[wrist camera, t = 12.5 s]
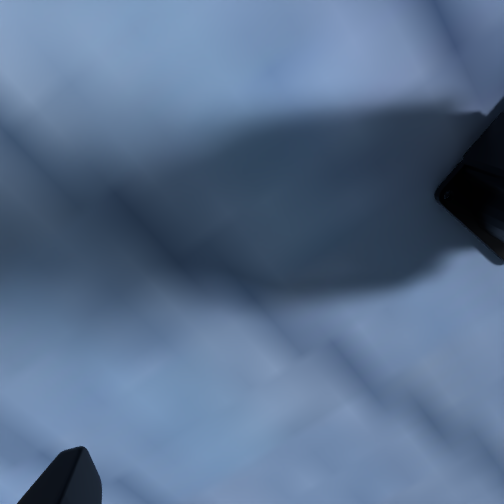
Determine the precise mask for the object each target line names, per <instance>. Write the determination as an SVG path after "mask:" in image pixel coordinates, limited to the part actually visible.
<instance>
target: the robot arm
mask: <svg viewBox="0 0 504 504" xmlns="http://www.w3.org/2000/svg"><path fill="white" fill-rule="evenodd" d="M447 191H450V195H449V196H448V197H447V198H446V199H444V195H445V193H446V192H447ZM435 199H436V201H437V202H438V203H439V204H440V205H441V206H442V207H443V208H445V209H446V210H447V211H448V212H449V213H450V214H451V215H452V216H453V217H455V218H456V219H457V220H458V221H459V222H460V223H461V224H462V225H463V226H465V227H466V228H467V229H468V230H469V231H470V232H471V233H472V234H474V235H475V236H476V237H477V238H478V239H479V240H480V241H481V242H482V243H484V244H485V245H486V246H487V247H488V248H489V249H490V250H491V251H492V252H494V253H495V254H496V255H497V256H498V257H499V258H500V259H501V260H503V261H504V112H502V113H501V114H500V115H499V116H498V117H497V118H496V120H495V121H494V122H493V123H492V124H491V125H490V126H489V127H488V129H487V130H486V131H485V132H484V133H483V134H482V135H481V136H480V138H479V139H478V140H477V141H476V142H475V143H474V144H473V145H472V147H471V148H470V149H469V150H468V151H467V152H466V153H465V154H464V156H463V160H462V161H461V162H460V163H459V164H458V165H457V166H456V168H455V169H454V170H453V171H452V172H451V173H450V174H449V175H448V177H447V178H446V179H445V180H444V181H443V182H442V183H441V184H440V186H439V187H438V188H437V190H436V191H435ZM17 504H102V484H101V479H100V476H99V474H98V472H97V470H96V467H95V465H94V463H93V461H92V459H91V456H90V454H89V452H88V450H87V449H86V448H85V447H83V446H79V447H75V448H71V449H68V450H64V451H62V452H61V453H60V454H58V456H57V457H56V458H55V459H54V460H53V461H52V463H51V464H50V465H49V466H48V467H47V469H46V470H45V471H44V472H43V473H42V474H41V476H40V477H39V478H38V479H37V480H36V482H35V483H34V484H33V485H32V486H31V487H30V489H29V490H28V491H27V492H26V493H25V495H24V496H23V497H22V498H21V499H20V500H19V502H18V503H17Z"/></svg>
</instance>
